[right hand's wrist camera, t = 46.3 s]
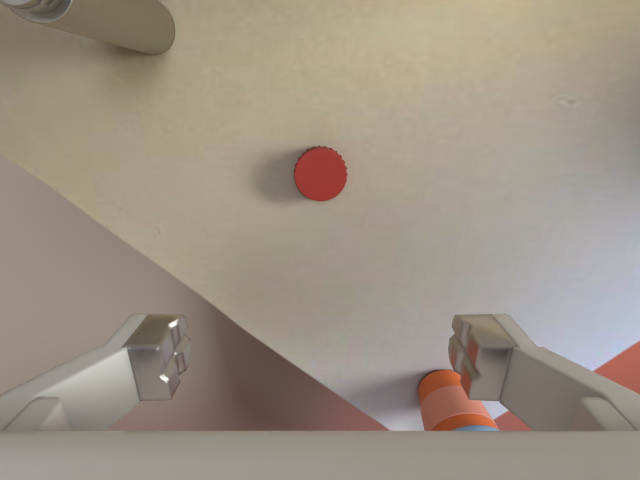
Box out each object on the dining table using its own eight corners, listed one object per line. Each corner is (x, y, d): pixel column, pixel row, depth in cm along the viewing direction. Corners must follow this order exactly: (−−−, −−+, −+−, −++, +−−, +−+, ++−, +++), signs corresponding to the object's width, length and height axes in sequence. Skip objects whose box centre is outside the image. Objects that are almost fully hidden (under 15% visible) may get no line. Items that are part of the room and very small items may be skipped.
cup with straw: (394, 401, 47) (435, 569, 30) (427, 350, 43) (494, 506, 27) (453, 420, 48) (524, 592, 31) (489, 372, 45) (591, 534, 28)
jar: (173, -1, 30) (41, -92, 16) (176, 57, 32) (59, 21, 17) (121, -6, 30) (-59, -104, 16) (127, 52, 31) (-32, 11, 17)
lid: (298, 199, 36) (297, 204, 35) (291, 148, 35) (290, 151, 33) (348, 194, 36) (349, 198, 34) (343, 142, 34) (345, 145, 33)
